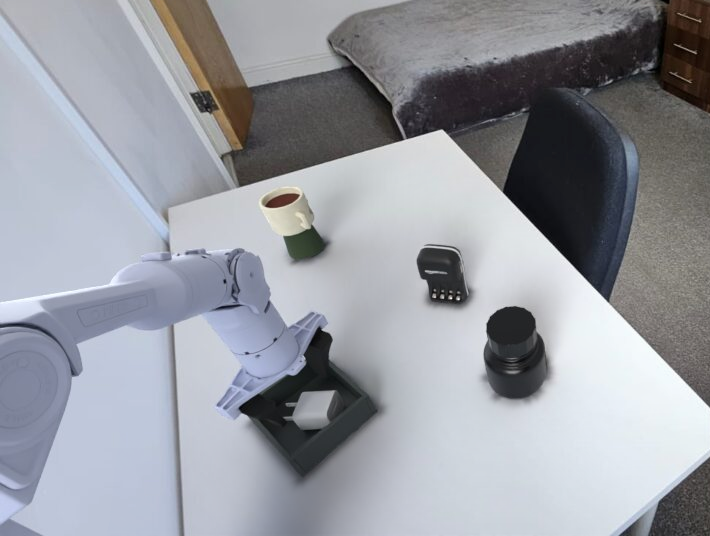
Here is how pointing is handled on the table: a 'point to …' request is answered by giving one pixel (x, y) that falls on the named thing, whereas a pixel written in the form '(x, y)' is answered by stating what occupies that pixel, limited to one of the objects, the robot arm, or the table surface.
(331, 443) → the open storage tray
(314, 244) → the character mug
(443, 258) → the battery charger
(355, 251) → the table surface
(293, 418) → the usb wall charger
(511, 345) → the ink bottle
